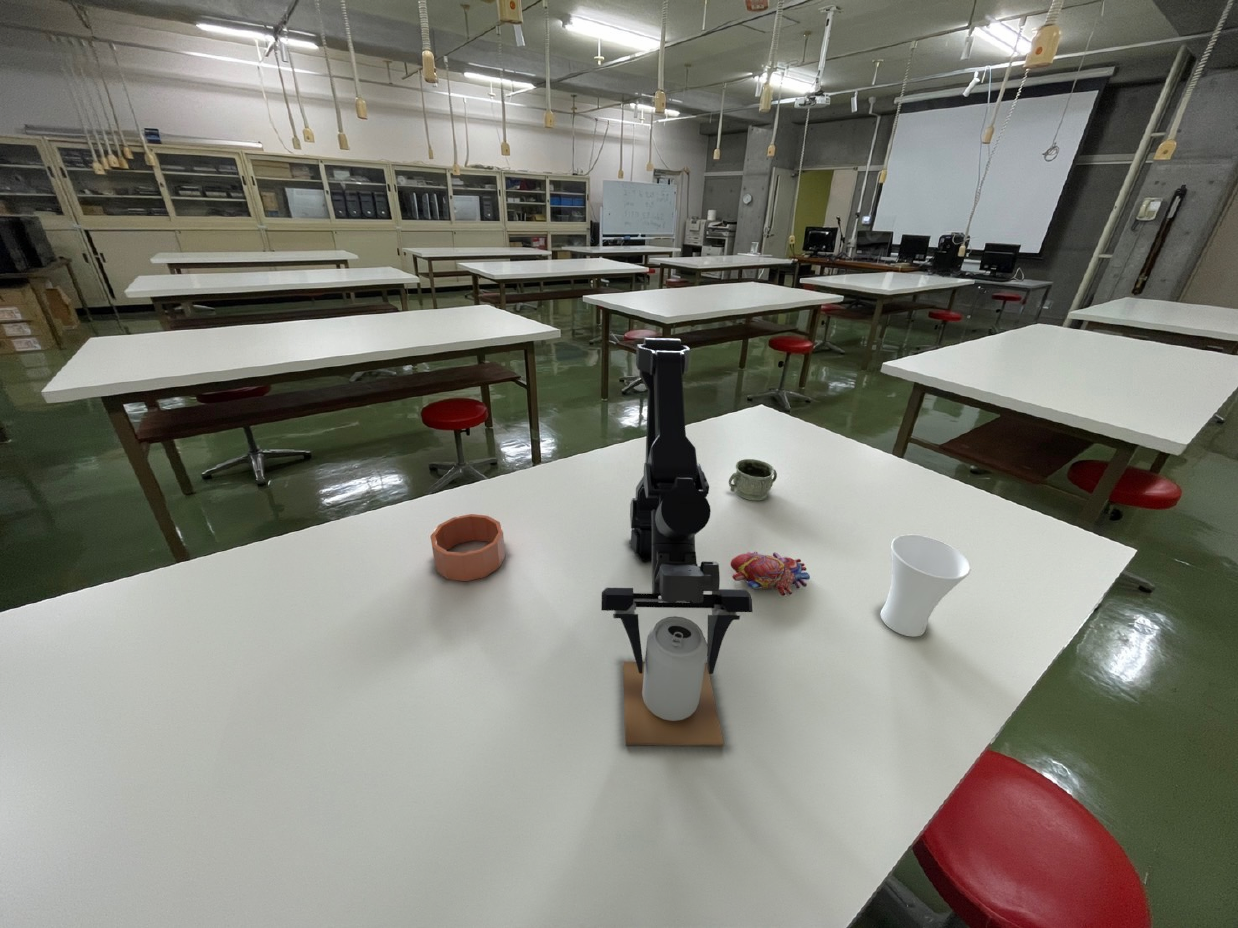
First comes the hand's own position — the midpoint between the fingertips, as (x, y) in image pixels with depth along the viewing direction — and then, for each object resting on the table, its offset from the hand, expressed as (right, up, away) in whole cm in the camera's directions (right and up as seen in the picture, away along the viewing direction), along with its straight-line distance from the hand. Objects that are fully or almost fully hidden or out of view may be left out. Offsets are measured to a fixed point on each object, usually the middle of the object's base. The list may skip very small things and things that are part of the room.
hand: (675, 673), depth 61 cm
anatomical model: (+20, +5, +27) cm, 34 cm away
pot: (-34, +9, +29) cm, 45 cm away
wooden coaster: (0, -6, +5) cm, 7 cm away
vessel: (+23, +19, +53) cm, 61 cm away
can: (0, -5, +5) cm, 7 cm away
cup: (+39, 0, +19) cm, 43 cm away
